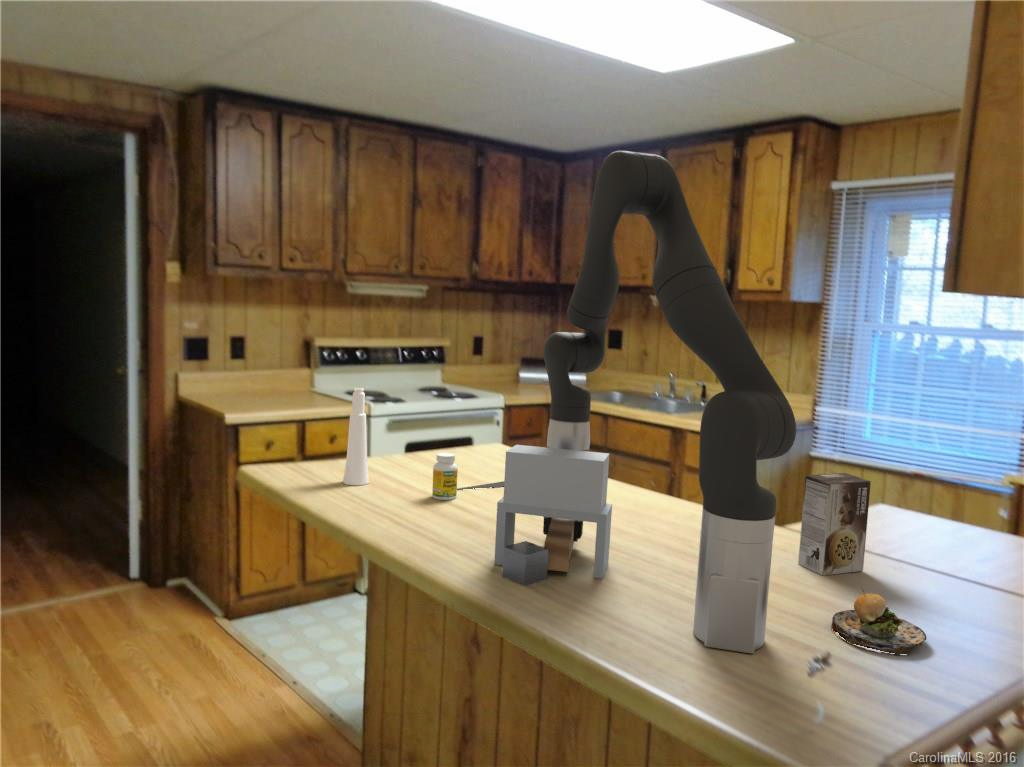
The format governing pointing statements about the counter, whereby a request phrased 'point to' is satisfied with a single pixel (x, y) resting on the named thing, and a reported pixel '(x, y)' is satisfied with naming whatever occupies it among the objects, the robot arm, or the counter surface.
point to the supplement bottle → (445, 477)
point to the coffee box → (834, 523)
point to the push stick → (559, 544)
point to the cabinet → (555, 494)
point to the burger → (876, 626)
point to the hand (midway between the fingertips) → (562, 538)
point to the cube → (525, 563)
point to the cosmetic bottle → (357, 443)
